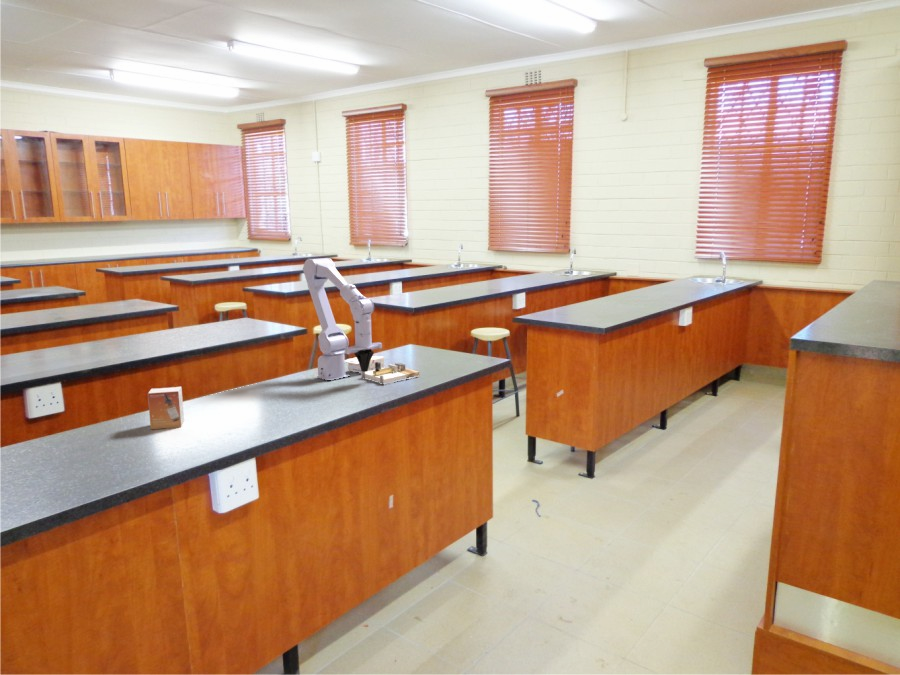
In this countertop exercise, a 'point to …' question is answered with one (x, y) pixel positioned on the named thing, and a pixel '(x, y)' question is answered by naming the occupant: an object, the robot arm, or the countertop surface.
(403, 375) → the door board
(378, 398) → the countertop surface
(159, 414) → the small box
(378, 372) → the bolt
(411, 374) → the door jamb
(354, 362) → the ink cartridge box
